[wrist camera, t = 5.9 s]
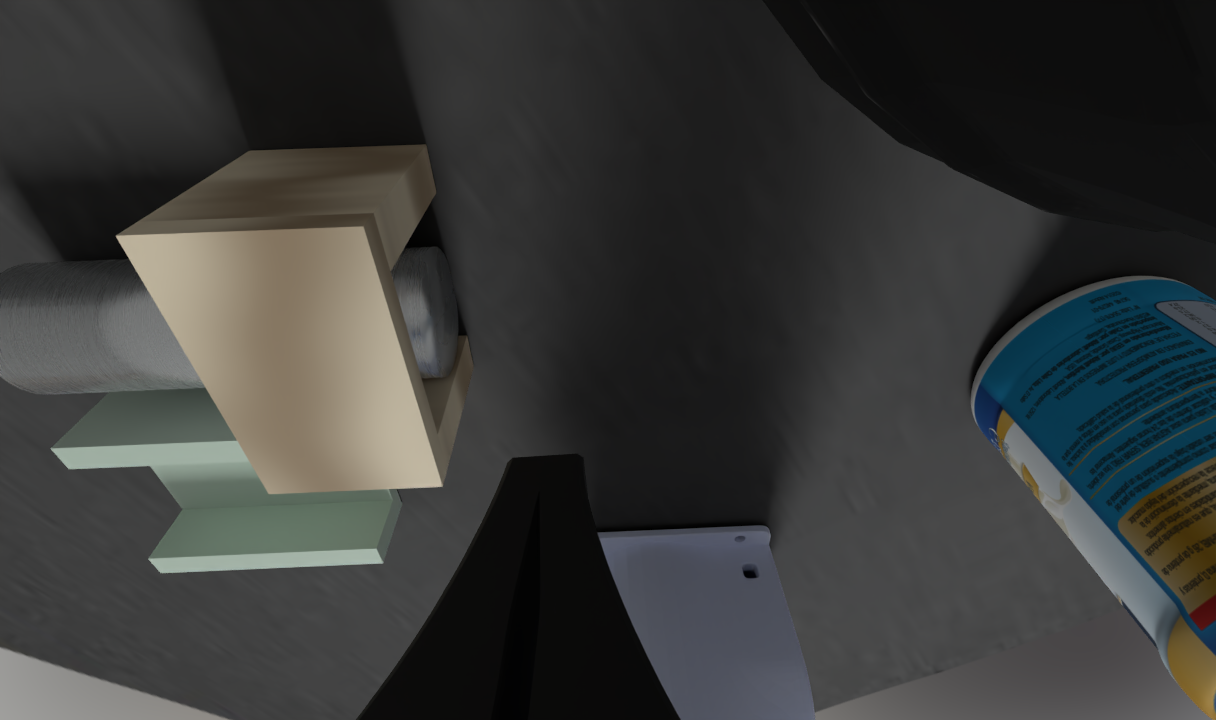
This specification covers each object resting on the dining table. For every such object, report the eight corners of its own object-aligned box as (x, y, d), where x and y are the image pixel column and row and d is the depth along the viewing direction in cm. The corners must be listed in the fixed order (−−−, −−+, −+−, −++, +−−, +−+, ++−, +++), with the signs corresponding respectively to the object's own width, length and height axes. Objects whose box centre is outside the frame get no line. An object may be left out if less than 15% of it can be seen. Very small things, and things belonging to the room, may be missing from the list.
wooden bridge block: (426, 144, 16) (363, 226, 11) (473, 366, 21) (442, 486, 16) (249, 150, 16) (115, 235, 11) (338, 372, 21) (268, 494, 16)
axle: (432, 218, 17) (411, 322, 15) (463, 305, 20) (449, 401, 18) (28, 234, 17) (-58, 342, 14) (125, 319, 20) (67, 418, 18)
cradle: (354, 380, 21) (325, 436, 19) (402, 504, 25) (383, 563, 23) (112, 389, 21) (50, 448, 18) (201, 512, 25) (161, 573, 23)
